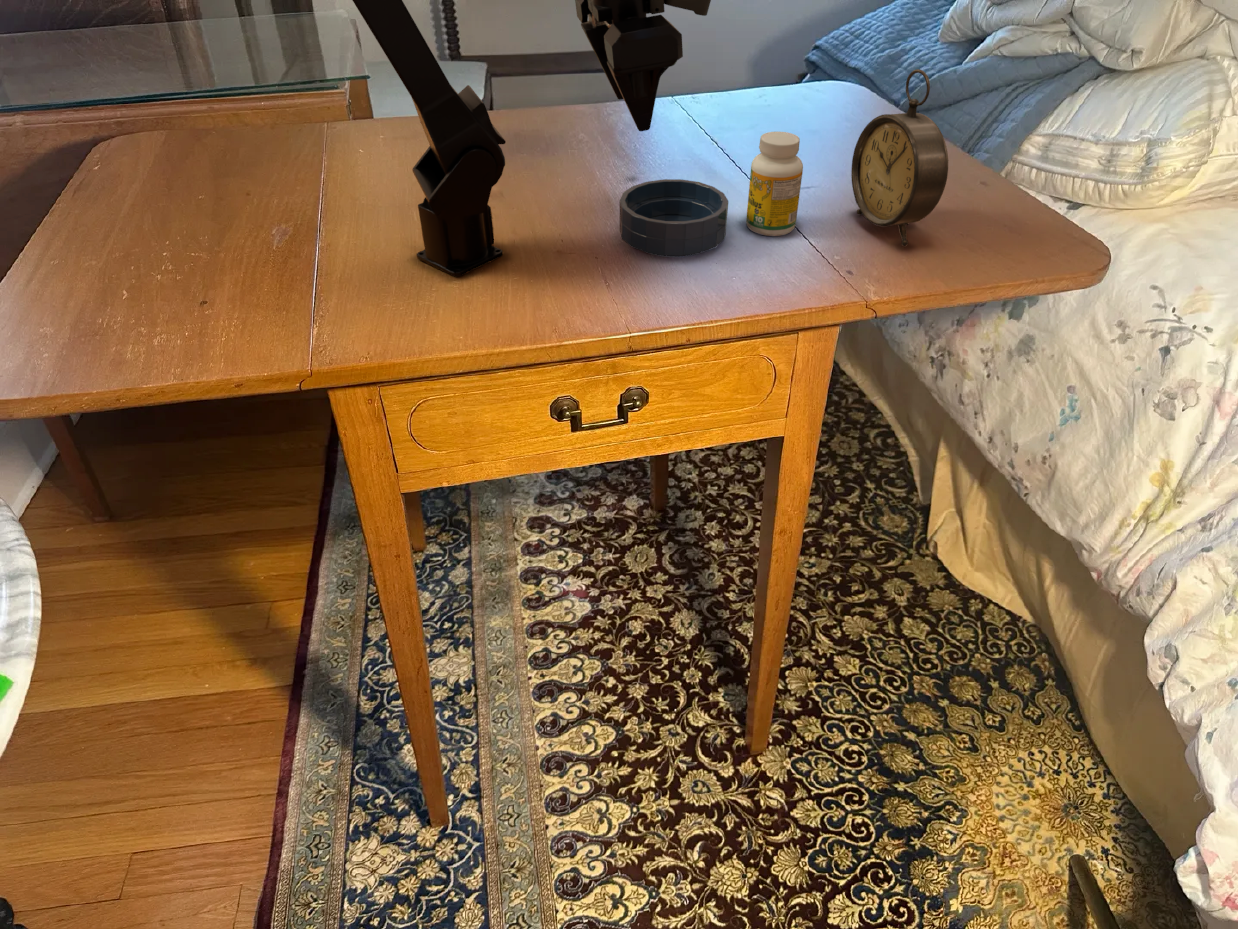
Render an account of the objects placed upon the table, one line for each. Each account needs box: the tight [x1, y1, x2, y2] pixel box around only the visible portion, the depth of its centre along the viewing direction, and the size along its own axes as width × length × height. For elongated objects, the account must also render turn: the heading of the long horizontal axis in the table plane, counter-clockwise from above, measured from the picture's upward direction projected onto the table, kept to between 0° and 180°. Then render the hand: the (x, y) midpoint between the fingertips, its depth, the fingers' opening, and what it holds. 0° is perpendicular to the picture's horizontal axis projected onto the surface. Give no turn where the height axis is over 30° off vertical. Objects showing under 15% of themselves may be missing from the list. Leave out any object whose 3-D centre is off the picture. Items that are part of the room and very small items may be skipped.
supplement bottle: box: [745, 131, 804, 237], centre depth 91 cm, size 5×5×10 cm
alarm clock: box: [850, 68, 949, 247], centre depth 88 cm, size 11×5×16 cm, turn 21°
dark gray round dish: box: [618, 178, 729, 258], centre depth 91 cm, size 11×11×4 cm
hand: (633, 113), depth 86 cm, fingers open, 9 cm apart
